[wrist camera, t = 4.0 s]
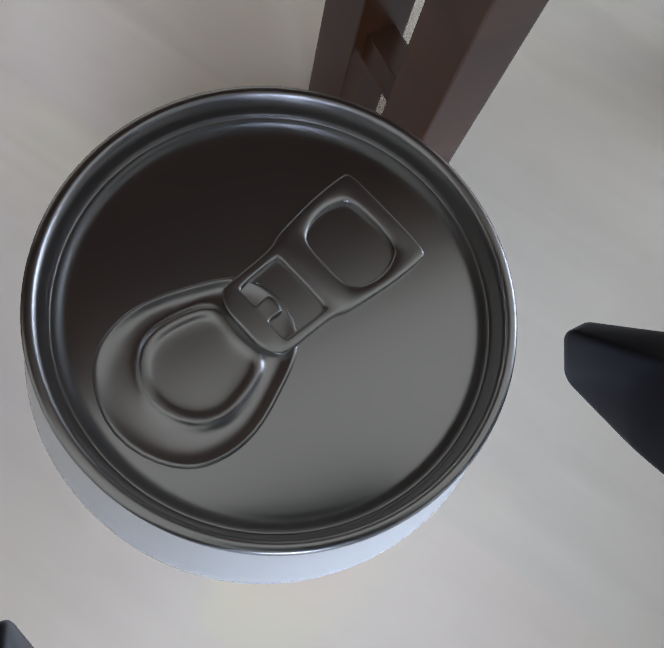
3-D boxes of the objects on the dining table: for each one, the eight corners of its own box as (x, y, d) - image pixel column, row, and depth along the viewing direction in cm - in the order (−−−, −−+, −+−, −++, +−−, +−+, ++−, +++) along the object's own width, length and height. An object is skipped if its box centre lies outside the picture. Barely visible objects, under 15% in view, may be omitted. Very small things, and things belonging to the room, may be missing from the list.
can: (85, 426, 18) (-163, 254, 6) (258, 289, 20) (302, -22, 8) (235, 605, 17) (258, 766, 6) (398, 443, 19) (653, 324, 8)
